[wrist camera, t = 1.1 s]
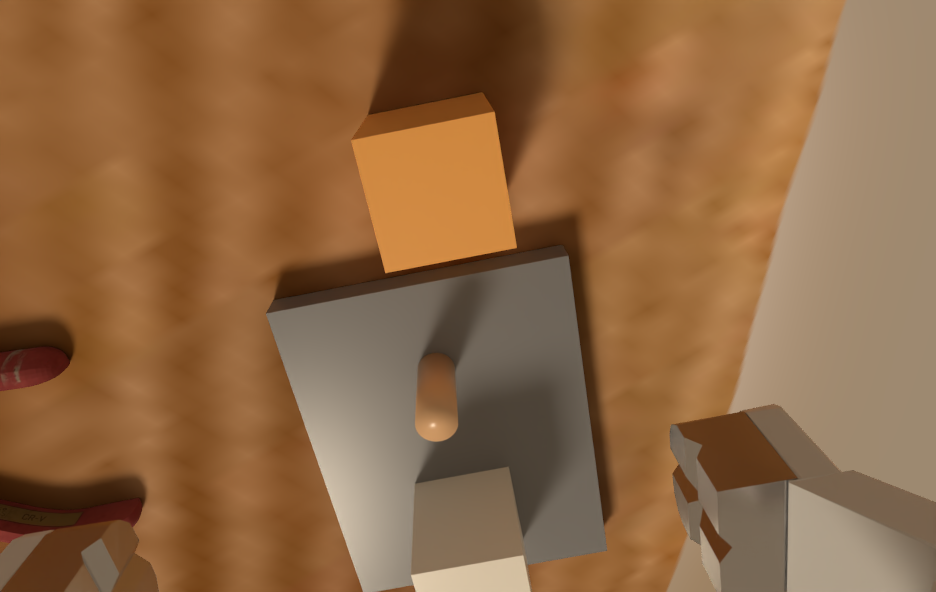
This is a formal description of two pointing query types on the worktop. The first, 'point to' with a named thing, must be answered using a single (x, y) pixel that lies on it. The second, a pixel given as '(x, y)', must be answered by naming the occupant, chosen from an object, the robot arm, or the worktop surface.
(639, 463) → the worktop surface
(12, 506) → the pliers
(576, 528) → the plate
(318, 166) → the worktop surface
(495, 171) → the orange matte cube
